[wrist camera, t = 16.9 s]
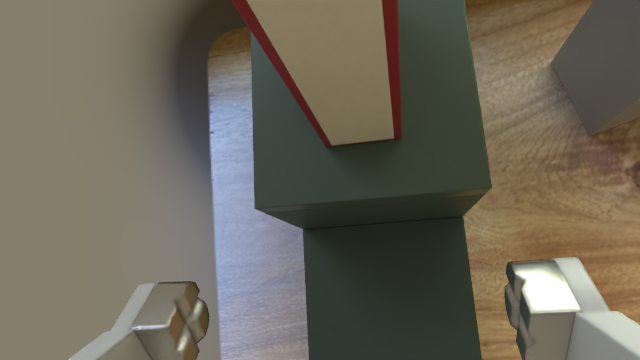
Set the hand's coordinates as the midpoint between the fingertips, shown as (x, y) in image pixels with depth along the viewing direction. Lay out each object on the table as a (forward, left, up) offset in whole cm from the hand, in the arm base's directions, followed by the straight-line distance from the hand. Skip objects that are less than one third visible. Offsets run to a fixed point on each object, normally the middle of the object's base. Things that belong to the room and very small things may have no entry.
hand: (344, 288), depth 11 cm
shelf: (0, +6, -24) cm, 25 cm away
